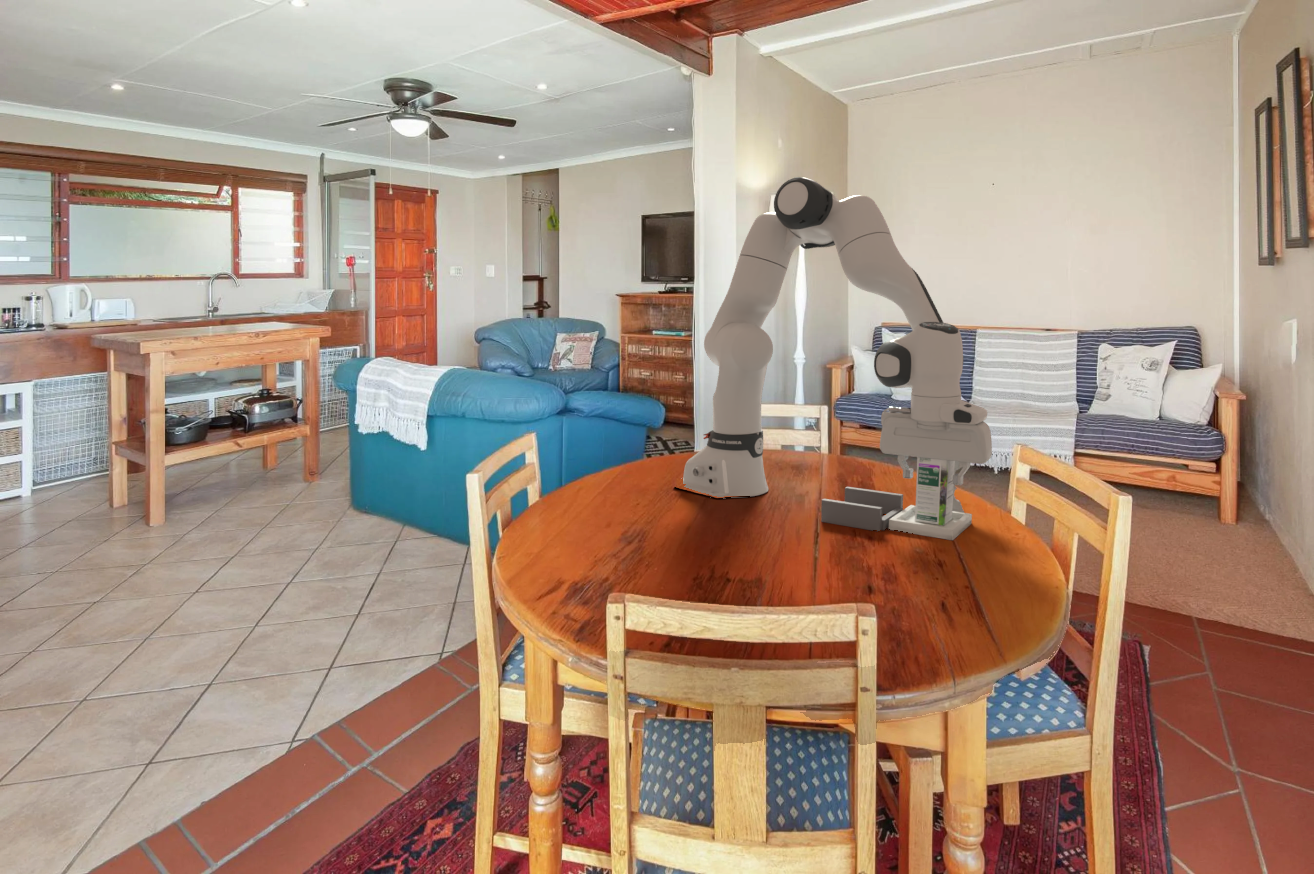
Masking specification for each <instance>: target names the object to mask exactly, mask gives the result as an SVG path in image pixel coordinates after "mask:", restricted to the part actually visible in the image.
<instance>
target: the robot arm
mask: <svg viewBox="0 0 1314 874" xmlns="http://www.w3.org/2000/svg"><path fill="white" fill-rule="evenodd" d="M773 209H774V212H773V211H770V212H765V213H764V212H763V213H761V214H760V215H758V216H757V217H756V218H755V220H754V222H753V223H752V225H751V227H750V229H749V231H748V233H747V235H746V237H745V240H744V242H743V245H742V248H741V250H740V253H739V256H738V260H737V262H736V263H737V264H736V266H735V269H734V272H733V275H732V278H731V280H730V281H731V282H730V285H729V288H728V290H727V293H726V295H725V297H724V300H722V303H721V305H720V307H719V309H718V312H717V313H716V315H715V318H714V320H713V322H712V325H711V327H710V328H709V330H708V331H707V333H706V334H705V336H704V342H703V347H704V351H705V354H706V355H707V356H708V357H707V358H708V359H709V360H710V361H711V362H712V363H713V364H714V365H716V366H717V367H718V376H717V381H716V382H717V383H716V386H715V387H716V388H715V391H714V394H713V396H712V425H713V426H712V427H713V429H712V430H710V431H709V432H708V433H705V434H703V436H704V437H703V439H704V440H707V443H706V446H704V447H703V448H702V449H701V450H699V451H698V452H697V453H696V454H694V455H693V456H692V457H690V458H688V460H687V461H686V462H685V465H684V468H683V469H684V471H683V477H682V478H683V484H686V485H685V486H684V487H686V488H689V489H692V490H695V491H698V492H701V493H706V494H709V495H712V496H717V497H724V496H750V497H755V496H760V495H763V494H766V493H767V492H768V491H769V486H768V482H767V479H766V475H765V473H766V472H765V469H764V460H763V453H764V430H763V429H762V398H763V390H764V384H765V378H766V373H767V367H768V364H769V362H770V361H771V359H772V357H773V353H774V345H773V341H772V339H771V336H770V335H769V334H768V333H767V332H766V331H765V330H764V329H763V328H762V326H763V325H764V322H765V321H766V319H767V317H768V315H769V314H770V312H771V311H772V310H773V308H774V307H775V306H776V304H777V302H778V299H779V295H780V293H781V289H782V287H783V283H784V281H785V277H786V274H787V270H788V268H789V265H790V260H791V258H792V255H793V253H794V251H795V250H796V248H797V247H799V246H800V247H801V248H802V249H804V250H809V249H814V248H816V249H817V248H831V247H833V246H835V248H836V252H837V255H838V258H839V261H840V265H841V268H842V270H843V273H844V275H845V276H846V278H847V280H848V281H849V282H850V283H851V284H852V285H853V286H855V287H856V288H857V289H859V290H862V291H865V292H868V293H872V294H874V295H878V296H880V297H883V298H885V299H887V300H889V301H891V302H893V303H895V305H897V306H898V307H899V308H900V309H901V310H902V312H903V314H904V316H905V318H906V320H907V321H908V324H909V326H910V328H911V330H912V331H910V332H909V333H907V334H904V335H903V336H900V337H897V338H894V339H891V340H887V341H885V342H883V343H882V344H881V345H880V346H879V347H878V349H877V351H876V352H875V356H874V361H873V369H874V370H873V371H874V374H875V376H876V377H877V379H878V381H879V382H880V383H881V384H882V385H884V386H885V387H887V388H893V389H903V388H911V394H910V407H903V406H902V407H897V406H889V407H888V408H886V409H884V410H883V411H882V413H881V415H880V416H881V419H880V424H881V426H882V428H881V433H880V440H879V449H880V451H881V453H882V454H887V455H894V456H897V462H898V464H899V466H900V468H901V469H902V479H909V480H911V479H913V478H914V468H912V467H910V466H909V464H908V462H907V460H908V459H909V457H914V458H917V457H921V458H930V459H940V460H949V461H958V462H960V466H959V467H961V469H960V470H959V473H955V475H953V484H955V486H962V485H963V484H964V476H965V474H966V472H968V470H969V468H970V467H971V464H978V465H984V464H985V463H986V462H988V461H990V459H991V458H992V455H993V451H992V450H993V447H992V446H993V445H992V442H993V441H992V432H991V429H990V426H989V425H988V424H987V423H986V422H985V420H986V419H987V417H988V410H987V409H985V407H981V406H980V405H979V406H978V405H975V404H974V403H970V402H968V401H966V400H963V399H962V390H961V384H960V381H961V376H962V373H963V366H964V349H963V348H964V347H963V345H964V344H963V340H962V334H961V331H960V329H959V328H958V327H957V326H955V325H953V324H950V323H948V322H944V321H943V319H942V317H941V314H940V312H939V311H938V309H937V307H936V304H935V303H934V301H933V299H932V297H931V295H930V293H929V291H928V289H927V287H926V286H925V283H924V282H923V279H922V278H921V276H920V275H919V274H918V273H917V271H915V269H913V267H912V266H910V265H909V264H908V262H907V261H906V260H905V259H904V257H903V256H902V254H901V253H900V251H899V250H898V247H897V246H896V243H895V241H894V239H893V236H892V234H891V231H890V227H889V226H888V223H887V221H886V219H885V217H884V216H883V213H882V212H881V210H880V208H879V206H878V205H877V203H876V202H875V200H873V199H872V198H871V197H870V196H867V195H863V194H858V195H857V194H856V195H852V196H849V197H846V198H844V199H841V200H839V199H838V198H837V196H835V194H833V193H832V192H831V191H830V190H828V189H827V188H825V187H824V186H823V185H821V184H820V183H819V182H817V181H815V180H813V179H811V178H807V177H803V176H802V177H801V176H798V177H793V178H790V179H788V180H786V181H785V182H784V183H782V184H781V186H780V187H779V188H778V190H777V191H776V193H775V196H774V200H773Z"/></svg>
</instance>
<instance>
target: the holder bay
mask: <svg viewBox="0 0 1314 874" xmlns="http://www.w3.org/2000/svg"><path fill="white" fill-rule="evenodd" d="M903 505H904V494H902V493H894V492H888V491H881V490H874V489H867V488H860V487H853V486H846V487H845V488H844V501H843V500H837V499H836V500H835V499H831V498H830V499H828V498H822V499H821V509H820V512H821V513H820V514H821V518H820V519H821V520H820V521H821V523H826V524H832V525H838V526H844V527H850V528H857V529H862V530H866V531H867V530H868V531H873V530H877V531H876V532H878V531H880V530H881V531H885V529H886V528H887V529H889V519H891V518H892V517H894V516H895V515H896V514H898V513H899V512H901V511H902V510H904V507H903ZM883 514H886V515H883ZM887 529H886V530H887ZM881 531H880V532H881Z"/></svg>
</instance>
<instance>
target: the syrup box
mask: <svg viewBox="0 0 1314 874" xmlns="http://www.w3.org/2000/svg"><path fill="white" fill-rule="evenodd" d="M954 468H955V461H949V460H940V459H930V458H921V457H916V483H915V484H916V486H915V487H916V488H915V489H916V490H915V506H916V508H915V522H923V523H929V524H935V525H940V526H944V525H945V524H946V523H948V522H949V521H950V520H951V519H952V509H953V490H954V484H953V475H954Z"/></svg>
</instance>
